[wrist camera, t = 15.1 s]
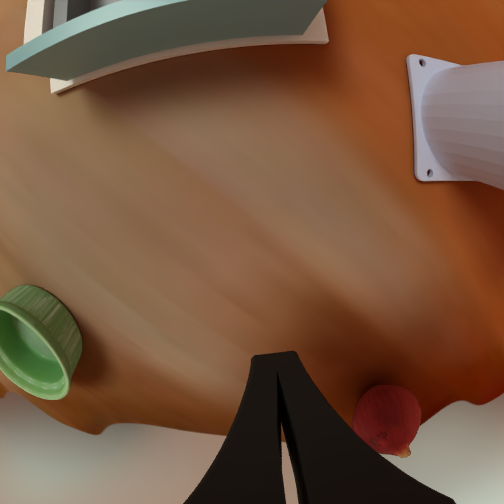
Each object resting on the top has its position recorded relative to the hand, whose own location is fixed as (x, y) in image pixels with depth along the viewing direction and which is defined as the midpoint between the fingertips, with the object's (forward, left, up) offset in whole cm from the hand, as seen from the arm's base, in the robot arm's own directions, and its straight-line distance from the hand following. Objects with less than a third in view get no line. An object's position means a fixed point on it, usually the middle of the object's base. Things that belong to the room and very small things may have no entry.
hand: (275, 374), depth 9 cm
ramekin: (+18, +4, -10) cm, 21 cm away
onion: (-9, +14, -10) cm, 19 cm away
